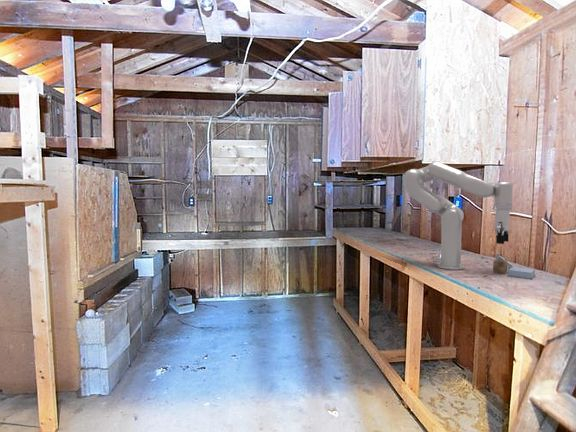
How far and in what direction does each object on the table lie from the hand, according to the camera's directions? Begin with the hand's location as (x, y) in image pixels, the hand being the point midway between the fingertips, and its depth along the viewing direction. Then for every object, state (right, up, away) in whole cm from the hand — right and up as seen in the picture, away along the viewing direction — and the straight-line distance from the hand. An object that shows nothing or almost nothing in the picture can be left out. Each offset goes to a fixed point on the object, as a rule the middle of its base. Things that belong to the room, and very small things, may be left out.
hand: (502, 242), depth 170 cm
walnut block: (0, -15, +1) cm, 15 cm away
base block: (+6, -15, -6) cm, 17 cm away
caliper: (+11, -15, +14) cm, 23 cm away
